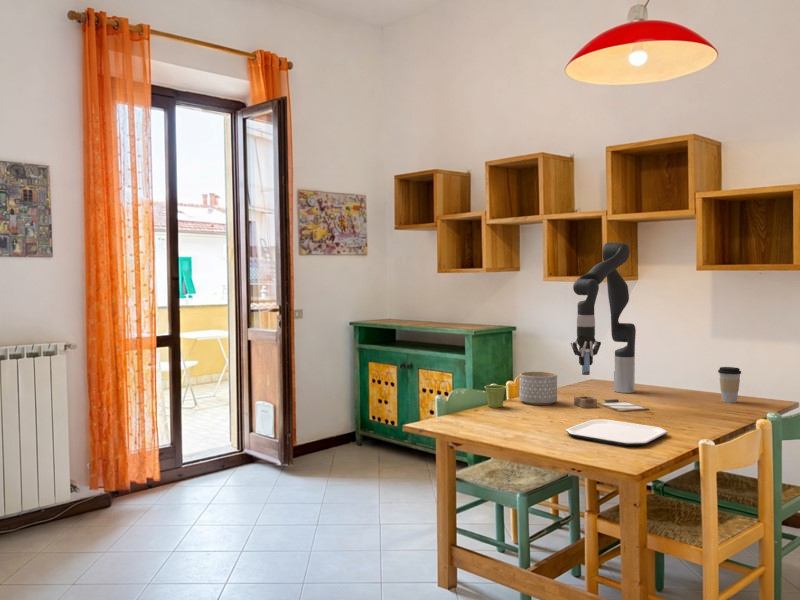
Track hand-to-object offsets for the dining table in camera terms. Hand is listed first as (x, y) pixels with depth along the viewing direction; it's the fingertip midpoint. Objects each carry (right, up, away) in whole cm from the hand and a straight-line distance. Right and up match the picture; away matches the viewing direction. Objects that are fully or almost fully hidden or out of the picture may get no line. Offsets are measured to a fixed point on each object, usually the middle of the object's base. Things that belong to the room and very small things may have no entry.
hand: (585, 364), depth 284 cm
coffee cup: (+66, -17, +8) cm, 69 cm away
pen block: (0, -18, 0) cm, 18 cm away
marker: (0, -4, 0) cm, 4 cm away
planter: (-19, -18, +9) cm, 28 cm away
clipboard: (+15, -18, -2) cm, 23 cm away
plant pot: (-39, -18, 0) cm, 43 cm away
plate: (-4, -20, -52) cm, 56 cm away
